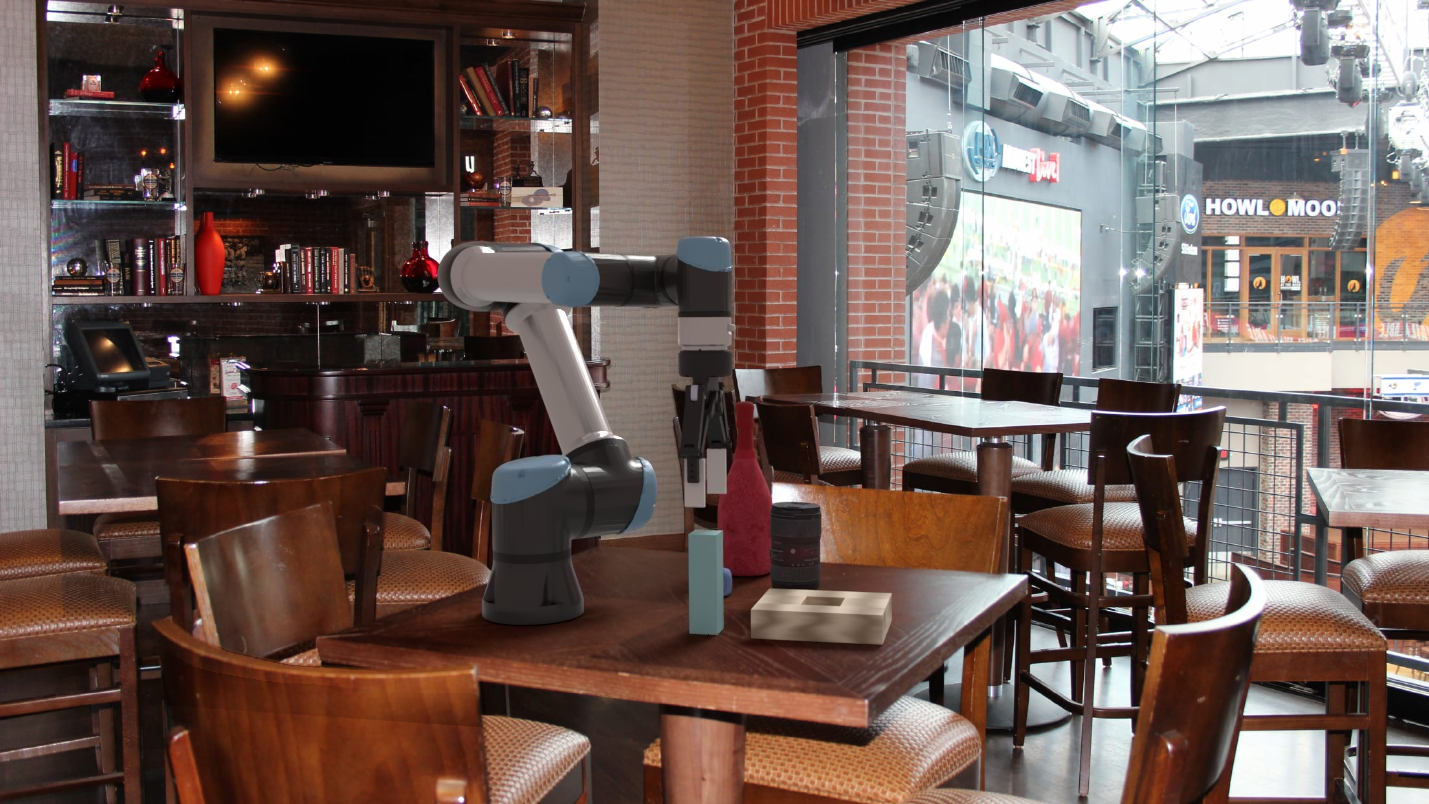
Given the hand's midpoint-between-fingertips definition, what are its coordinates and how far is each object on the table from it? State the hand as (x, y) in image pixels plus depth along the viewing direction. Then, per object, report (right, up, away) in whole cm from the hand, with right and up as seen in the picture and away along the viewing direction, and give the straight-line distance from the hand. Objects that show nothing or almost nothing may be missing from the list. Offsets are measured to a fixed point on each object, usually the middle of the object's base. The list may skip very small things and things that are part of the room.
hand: (706, 500), depth 172 cm
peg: (0, -19, +1) cm, 19 cm away
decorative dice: (+2, -17, +25) cm, 31 cm away
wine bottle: (+7, -16, +42) cm, 46 cm away
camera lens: (+14, -17, +21) cm, 31 cm away
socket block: (+17, -18, +1) cm, 25 cm away
